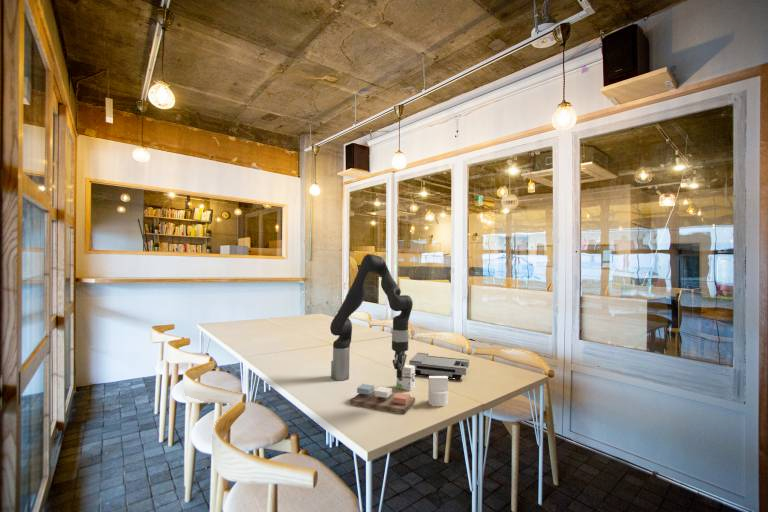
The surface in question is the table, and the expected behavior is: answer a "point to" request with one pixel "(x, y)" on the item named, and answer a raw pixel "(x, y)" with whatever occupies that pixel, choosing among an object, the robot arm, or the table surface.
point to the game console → (439, 366)
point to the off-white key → (383, 392)
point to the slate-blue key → (365, 389)
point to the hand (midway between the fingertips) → (399, 377)
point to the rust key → (401, 398)
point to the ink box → (407, 378)
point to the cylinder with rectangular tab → (438, 390)
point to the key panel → (381, 403)
